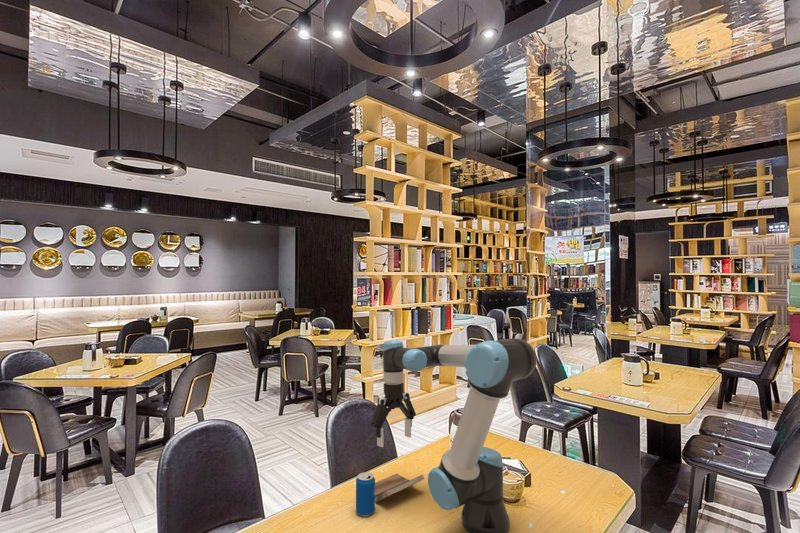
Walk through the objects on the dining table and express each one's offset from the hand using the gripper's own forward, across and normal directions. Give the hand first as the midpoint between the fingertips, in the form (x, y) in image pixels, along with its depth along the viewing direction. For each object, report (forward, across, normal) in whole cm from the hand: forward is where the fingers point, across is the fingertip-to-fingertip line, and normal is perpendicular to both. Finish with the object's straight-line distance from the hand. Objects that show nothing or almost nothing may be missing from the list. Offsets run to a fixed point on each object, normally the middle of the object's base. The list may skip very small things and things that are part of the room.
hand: (394, 441), depth 144 cm
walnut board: (+19, -1, -7) cm, 21 cm away
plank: (+17, -1, +2) cm, 17 cm away
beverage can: (+20, +14, 0) cm, 24 cm away
